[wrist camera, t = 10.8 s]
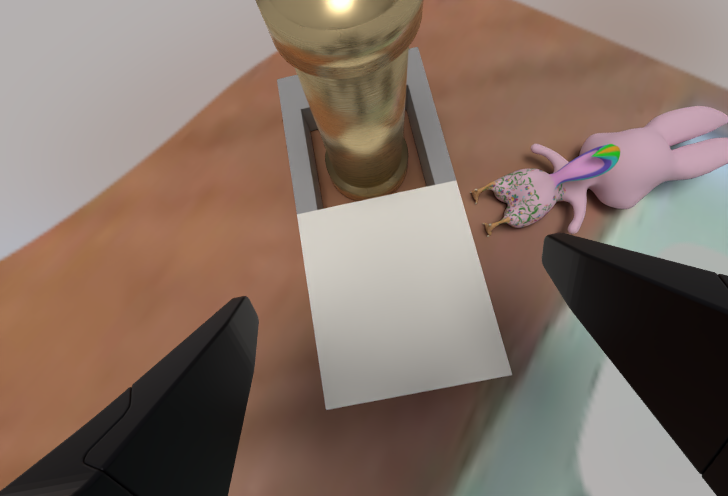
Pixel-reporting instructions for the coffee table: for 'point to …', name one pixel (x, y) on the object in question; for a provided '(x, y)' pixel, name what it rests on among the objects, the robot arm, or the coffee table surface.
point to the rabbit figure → (613, 167)
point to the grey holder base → (392, 270)
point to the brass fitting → (352, 82)
